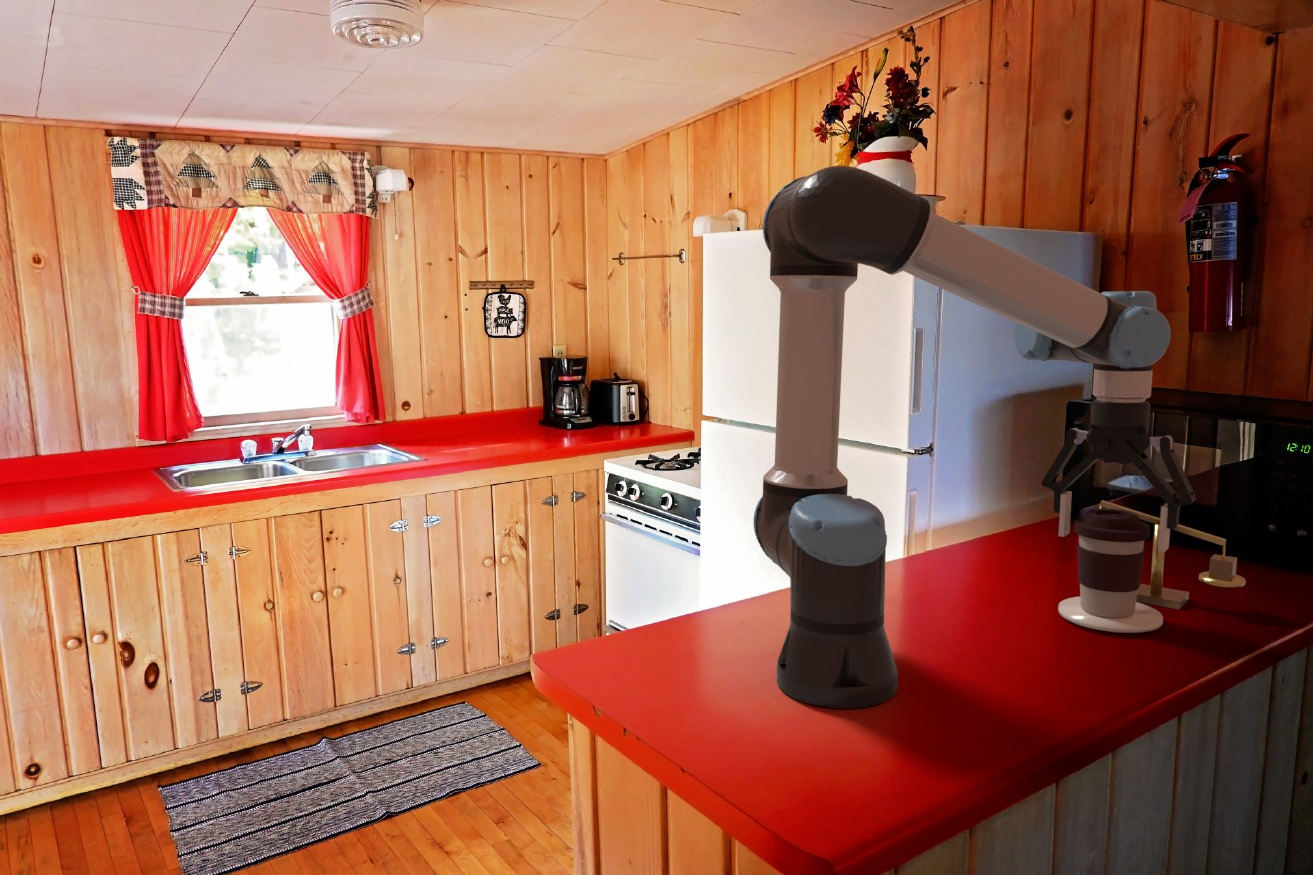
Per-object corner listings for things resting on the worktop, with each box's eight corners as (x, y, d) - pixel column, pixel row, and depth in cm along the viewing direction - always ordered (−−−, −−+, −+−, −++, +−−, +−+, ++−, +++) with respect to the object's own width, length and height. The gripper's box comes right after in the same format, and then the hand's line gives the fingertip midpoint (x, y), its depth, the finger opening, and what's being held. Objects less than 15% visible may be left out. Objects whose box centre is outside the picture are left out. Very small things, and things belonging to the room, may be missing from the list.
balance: (1238, 620, 134) (1246, 522, 132) (1071, 589, 150) (1075, 501, 148) (1246, 609, 139) (1253, 514, 136) (1083, 580, 154) (1087, 495, 152)
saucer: (1148, 644, 126) (1148, 635, 126) (1044, 622, 135) (1045, 614, 135) (1173, 616, 137) (1173, 608, 136) (1075, 598, 146) (1075, 590, 146)
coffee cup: (1074, 618, 133) (1079, 519, 131) (1067, 597, 142) (1072, 504, 140) (1150, 625, 130) (1156, 523, 127) (1138, 603, 139) (1144, 507, 137)
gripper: (1226, 402, 125) (1214, 551, 129) (1041, 392, 142) (1034, 524, 145) (1215, 407, 120) (1203, 562, 123) (1023, 396, 136) (1017, 533, 140)
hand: (1112, 542), depth 134 cm, fingers open, 13 cm apart
